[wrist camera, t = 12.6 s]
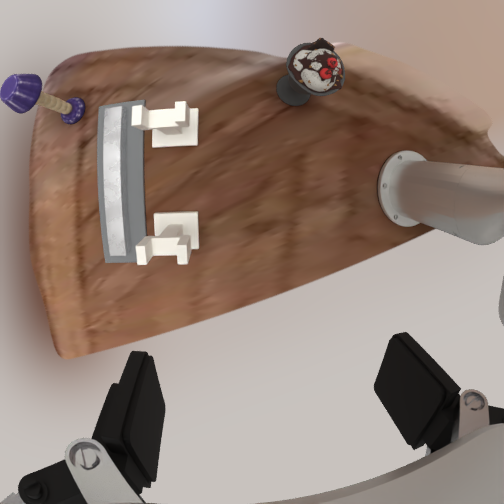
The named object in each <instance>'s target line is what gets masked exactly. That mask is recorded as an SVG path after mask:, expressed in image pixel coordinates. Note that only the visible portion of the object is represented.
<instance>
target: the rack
mask: <svg viewBox="0 0 504 504" xmlns="http://www.w3.org/2000/svg"><path fill="white" fill-rule="evenodd" d="M198 115H199V110H198V108H195V109H189V107H188V105H187V103H186V101H182V102H175V109H162V110H151V111H149V110H148V109H147V108H145V107H144V106H143V105H138V106H132V125H131V126H134V127H136V128H138V129H140V130H151V129H153V134H152V147H153V148H159V147H175V146H198ZM154 227H155V236H145V237H144V238H143V239H142V240H141V241H140V242H139V243H138V244H137V245H136V255H137V264H138V265H147V264H148V262H149V261H150V259H151V258H152V256H160V255H177V259H178V264H188V261H189V258H190V255H191V249H199V225H198V211H186V212H158V213H154Z"/></svg>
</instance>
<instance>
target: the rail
mask: <svg viewBox="0 0 504 504" xmlns="http://www.w3.org/2000/svg"><path fill="white" fill-rule="evenodd" d="M127 114H128V109H126V108H124V107H123V106H119V107H113V108H107V109H105V115H104V139H103V174H104V198H105V213H106V225H107V235H108V244H109V252H110V256H126V255H127V254H128V253H129V252H130V251H131V241H130V230H129V217H128V201H127V171H126V143H127Z"/></svg>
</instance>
